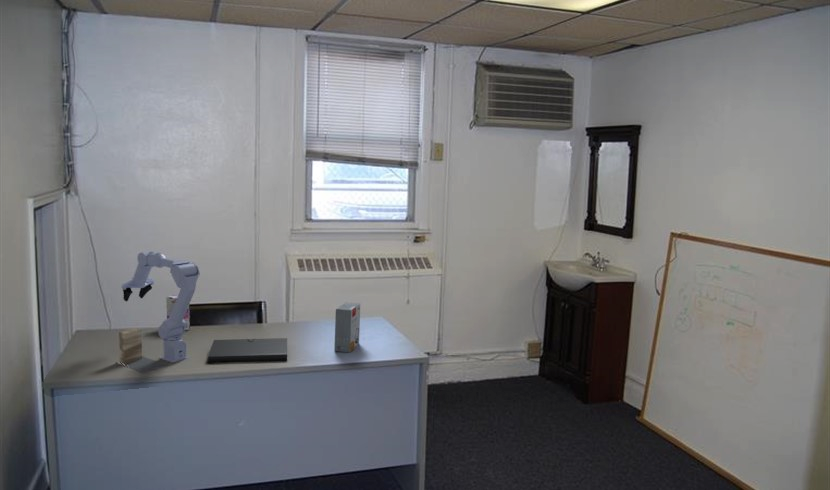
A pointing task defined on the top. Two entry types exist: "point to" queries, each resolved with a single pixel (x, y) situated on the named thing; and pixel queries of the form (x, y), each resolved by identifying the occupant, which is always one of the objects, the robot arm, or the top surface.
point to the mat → (145, 364)
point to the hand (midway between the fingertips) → (133, 298)
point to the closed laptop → (248, 350)
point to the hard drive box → (347, 327)
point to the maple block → (130, 345)
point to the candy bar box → (170, 305)
